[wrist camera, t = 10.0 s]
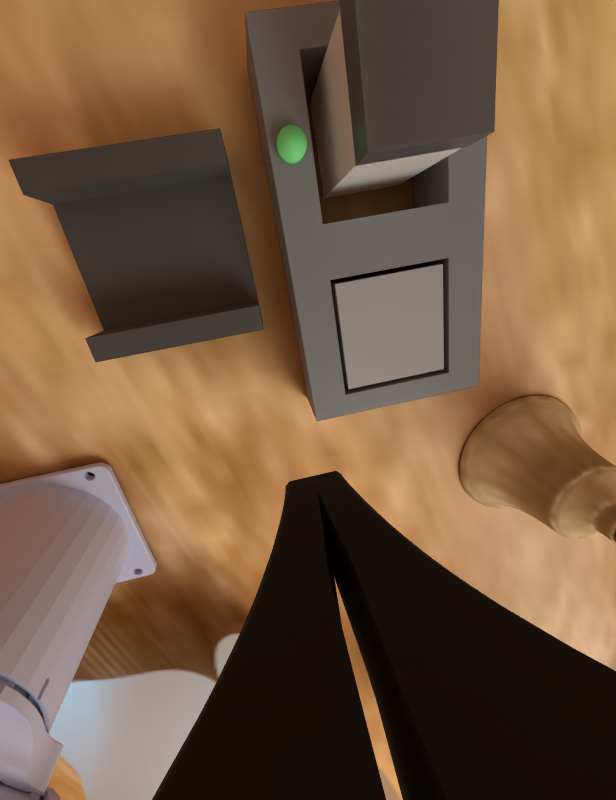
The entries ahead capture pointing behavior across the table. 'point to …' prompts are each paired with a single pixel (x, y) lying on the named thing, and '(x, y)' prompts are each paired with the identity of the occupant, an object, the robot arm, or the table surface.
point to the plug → (402, 89)
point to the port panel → (366, 244)
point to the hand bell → (541, 468)
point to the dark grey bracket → (152, 239)
